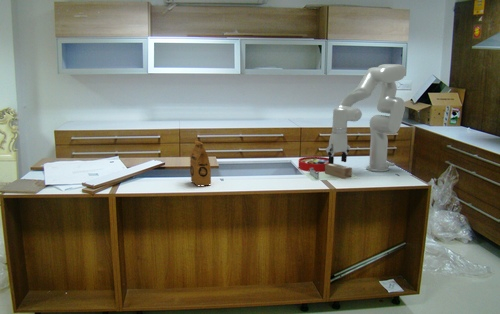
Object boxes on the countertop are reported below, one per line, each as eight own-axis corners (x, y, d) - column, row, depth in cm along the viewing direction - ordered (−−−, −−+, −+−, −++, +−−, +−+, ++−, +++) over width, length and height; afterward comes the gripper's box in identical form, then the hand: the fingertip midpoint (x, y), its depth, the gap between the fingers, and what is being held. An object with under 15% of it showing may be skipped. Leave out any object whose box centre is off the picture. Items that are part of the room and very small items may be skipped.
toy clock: (297, 156, 276) (330, 156, 276) (297, 166, 278) (330, 166, 277) (300, 164, 257) (336, 164, 256) (299, 174, 258) (335, 174, 258)
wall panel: (348, 173, 259) (348, 171, 259) (359, 180, 244) (359, 178, 244) (303, 175, 255) (303, 173, 255) (312, 182, 240) (312, 180, 239)
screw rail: (312, 173, 254) (312, 167, 253) (320, 179, 242) (320, 172, 241) (308, 173, 254) (308, 167, 253) (315, 179, 241) (315, 173, 240)
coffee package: (194, 187, 231) (192, 144, 227) (189, 181, 243) (187, 140, 238) (213, 186, 234) (212, 143, 230) (207, 180, 246) (206, 139, 241)
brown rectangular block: (332, 171, 257) (333, 162, 256) (351, 177, 246) (351, 167, 245) (324, 173, 254) (325, 164, 253) (343, 178, 243) (344, 169, 241)
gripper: (345, 129, 253) (343, 159, 256) (322, 131, 243) (320, 162, 246) (355, 131, 246) (353, 162, 250) (332, 133, 237) (330, 165, 240)
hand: (337, 162), depth 248 cm, fingers open, 9 cm apart
